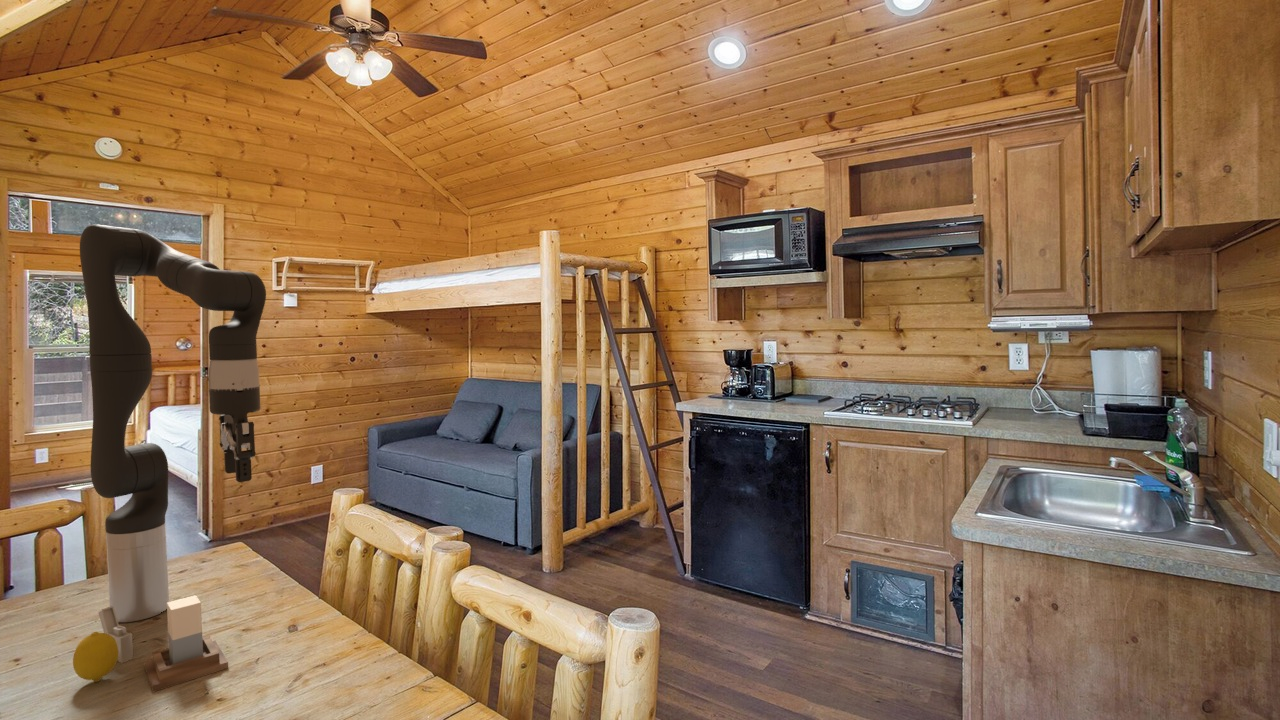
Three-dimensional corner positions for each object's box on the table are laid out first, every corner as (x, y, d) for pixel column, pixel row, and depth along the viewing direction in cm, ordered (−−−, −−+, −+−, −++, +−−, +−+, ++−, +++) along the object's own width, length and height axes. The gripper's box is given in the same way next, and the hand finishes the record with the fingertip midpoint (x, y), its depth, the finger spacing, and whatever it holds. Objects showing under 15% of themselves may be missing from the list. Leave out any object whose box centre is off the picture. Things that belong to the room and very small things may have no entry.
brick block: (169, 661, 107) (166, 602, 106) (198, 652, 109) (195, 595, 109) (174, 670, 104) (171, 610, 103) (203, 661, 106) (200, 602, 106)
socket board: (144, 667, 107) (143, 652, 107) (215, 646, 114) (215, 632, 113) (152, 691, 99) (152, 676, 99) (228, 667, 106) (227, 653, 106)
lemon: (93, 692, 99) (90, 642, 99) (65, 688, 100) (62, 639, 100) (128, 673, 105) (126, 625, 104) (101, 670, 106) (98, 622, 105)
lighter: (133, 658, 110) (131, 612, 109) (121, 662, 108) (119, 616, 108) (112, 648, 113) (109, 604, 112) (100, 653, 111) (97, 608, 111)
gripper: (201, 383, 115) (204, 473, 116) (218, 390, 105) (221, 488, 105) (249, 381, 120) (252, 467, 121) (269, 386, 110) (273, 480, 111)
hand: (238, 476), depth 113 cm, fingers open, 8 cm apart
